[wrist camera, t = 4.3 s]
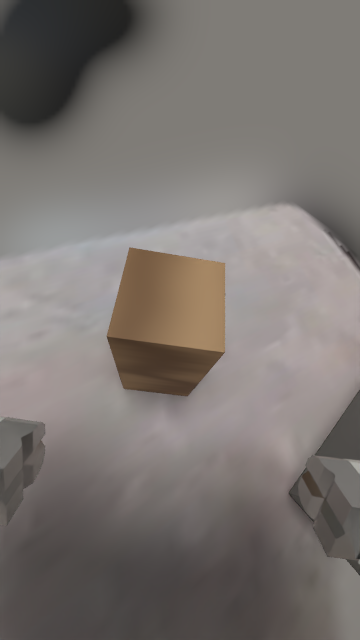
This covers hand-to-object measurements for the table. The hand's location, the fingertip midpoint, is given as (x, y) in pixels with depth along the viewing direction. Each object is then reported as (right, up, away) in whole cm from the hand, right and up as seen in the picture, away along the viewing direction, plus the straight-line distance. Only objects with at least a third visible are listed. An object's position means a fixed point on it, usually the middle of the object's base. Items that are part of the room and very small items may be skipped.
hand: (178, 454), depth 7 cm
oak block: (-2, +1, +13) cm, 13 cm away
